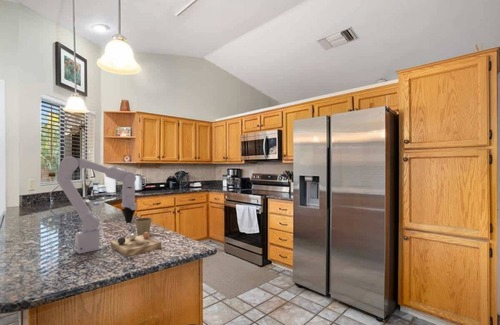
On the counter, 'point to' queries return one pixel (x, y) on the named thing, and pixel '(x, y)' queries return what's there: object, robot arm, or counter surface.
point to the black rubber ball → (121, 240)
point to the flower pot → (143, 225)
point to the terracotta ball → (146, 235)
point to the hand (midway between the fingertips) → (128, 222)
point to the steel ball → (132, 236)
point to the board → (136, 245)
